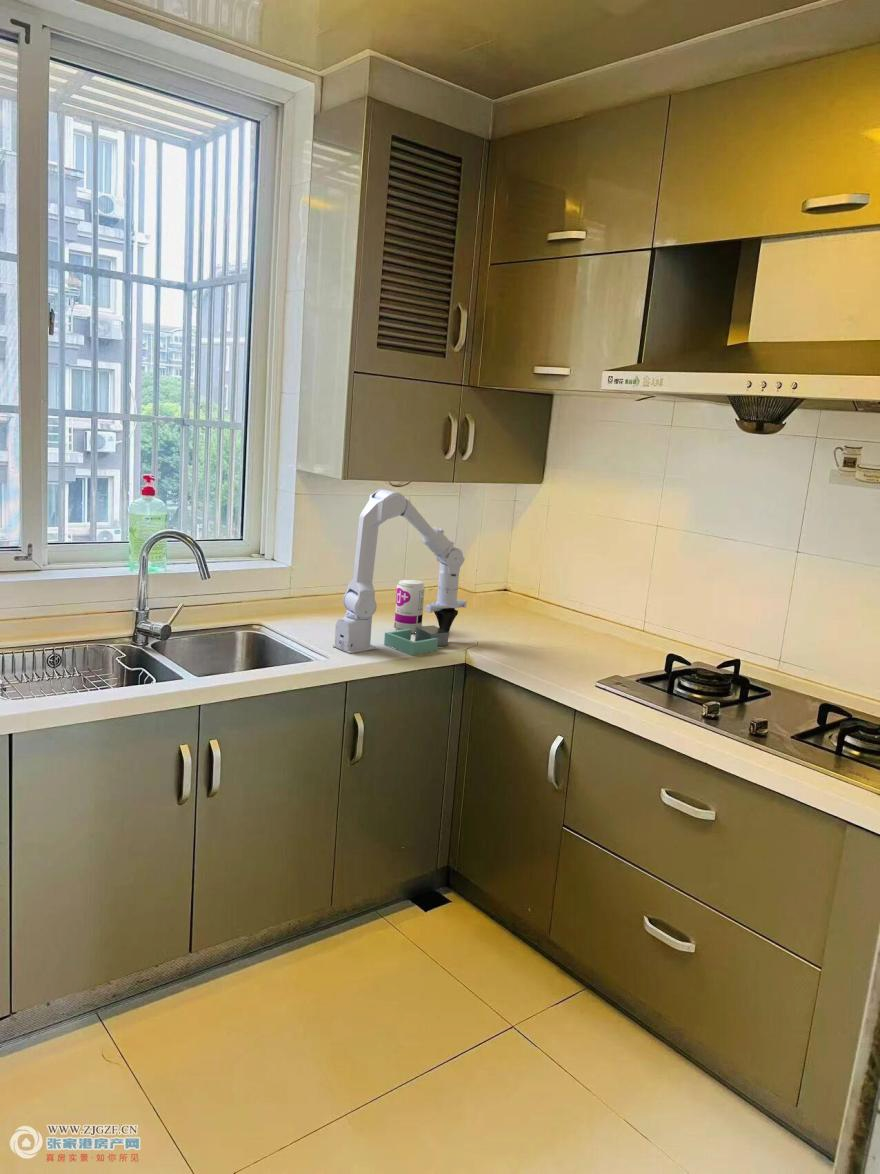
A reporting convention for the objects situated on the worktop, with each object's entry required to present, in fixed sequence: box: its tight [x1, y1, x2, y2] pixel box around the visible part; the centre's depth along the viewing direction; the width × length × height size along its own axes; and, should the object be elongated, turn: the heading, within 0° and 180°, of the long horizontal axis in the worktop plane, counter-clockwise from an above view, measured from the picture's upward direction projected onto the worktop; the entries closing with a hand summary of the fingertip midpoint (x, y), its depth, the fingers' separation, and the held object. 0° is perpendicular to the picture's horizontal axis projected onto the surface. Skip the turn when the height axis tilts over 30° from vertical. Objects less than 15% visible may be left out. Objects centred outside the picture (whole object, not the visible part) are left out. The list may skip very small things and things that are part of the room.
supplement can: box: [393, 578, 425, 634], centre depth 262 cm, size 8×8×15 cm
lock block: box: [414, 624, 450, 648], centre depth 250 cm, size 6×8×4 cm
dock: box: [383, 629, 438, 656], centre depth 245 cm, size 9×12×4 cm
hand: (444, 633), depth 254 cm, fingers closed
